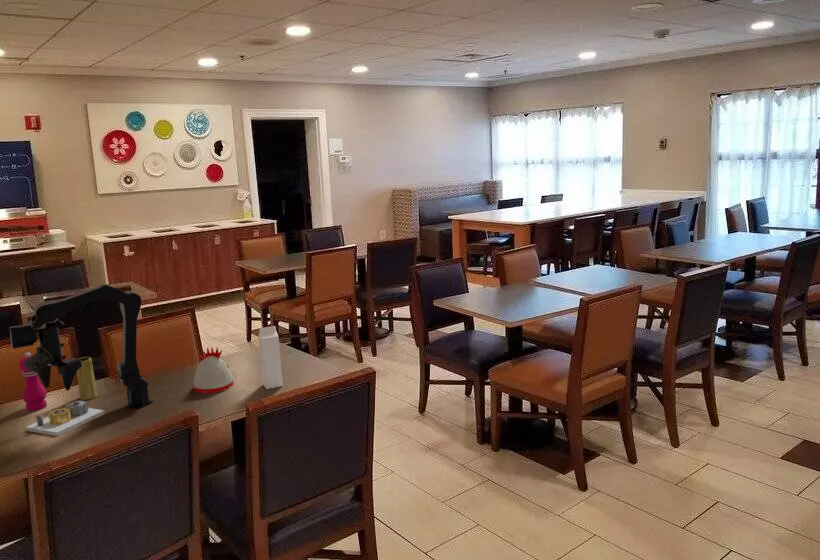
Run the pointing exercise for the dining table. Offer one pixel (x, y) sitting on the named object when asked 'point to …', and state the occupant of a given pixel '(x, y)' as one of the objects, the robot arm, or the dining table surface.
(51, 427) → the gear board
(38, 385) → the pepper mill
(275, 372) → the milk
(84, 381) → the vase
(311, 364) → the dining table surface
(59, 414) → the gear
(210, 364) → the kitchen timer
